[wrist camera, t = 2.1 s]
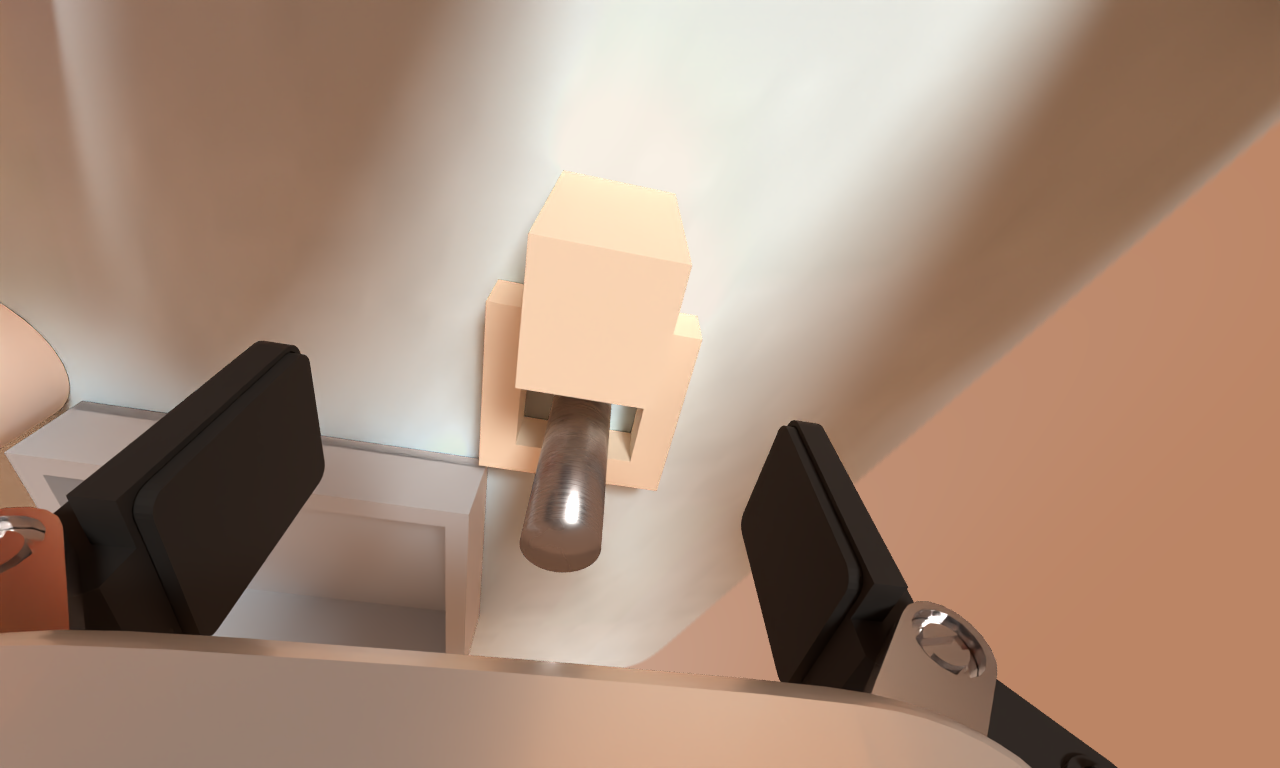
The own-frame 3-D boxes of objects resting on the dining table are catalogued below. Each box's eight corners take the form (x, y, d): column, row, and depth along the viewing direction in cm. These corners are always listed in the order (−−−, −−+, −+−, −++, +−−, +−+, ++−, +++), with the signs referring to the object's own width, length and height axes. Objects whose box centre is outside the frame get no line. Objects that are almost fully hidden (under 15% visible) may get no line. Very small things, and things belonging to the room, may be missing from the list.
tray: (488, 460, 26) (468, 514, 23) (479, 615, 33) (463, 672, 30) (81, 401, 24) (3, 452, 21) (165, 579, 31) (116, 637, 28)
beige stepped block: (729, 204, 19) (769, 280, 13) (655, 461, 26) (660, 586, 20) (505, 158, 18) (442, 216, 12) (489, 436, 25) (443, 559, 19)
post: (617, 362, 23) (606, 524, 15) (608, 406, 24) (594, 576, 16) (561, 352, 22) (522, 513, 15) (555, 398, 24) (516, 567, 16)
